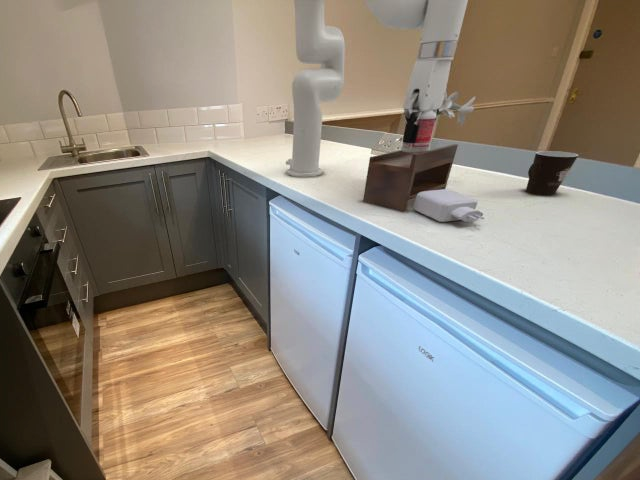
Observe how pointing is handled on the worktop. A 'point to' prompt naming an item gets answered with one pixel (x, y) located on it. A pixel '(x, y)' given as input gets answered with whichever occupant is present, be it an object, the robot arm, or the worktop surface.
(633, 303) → the worktop surface
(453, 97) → the flower vase
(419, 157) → the box
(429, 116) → the pill bottle
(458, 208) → the charger
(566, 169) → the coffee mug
